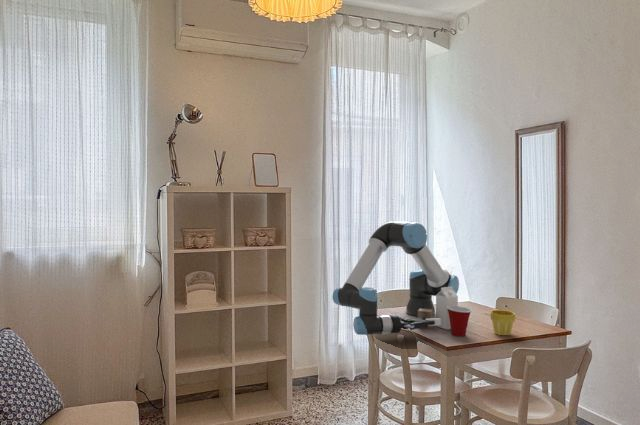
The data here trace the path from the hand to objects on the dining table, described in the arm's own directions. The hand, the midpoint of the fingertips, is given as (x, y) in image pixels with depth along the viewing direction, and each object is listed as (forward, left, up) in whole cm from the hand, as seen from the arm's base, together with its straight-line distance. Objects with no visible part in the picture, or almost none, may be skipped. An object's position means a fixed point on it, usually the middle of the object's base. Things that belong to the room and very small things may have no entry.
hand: (439, 321), depth 205 cm
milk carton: (-5, +16, -7) cm, 18 cm away
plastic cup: (+5, +8, -7) cm, 12 cm away
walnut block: (-13, +10, -6) cm, 17 cm away
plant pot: (+19, +22, -7) cm, 30 cm away
